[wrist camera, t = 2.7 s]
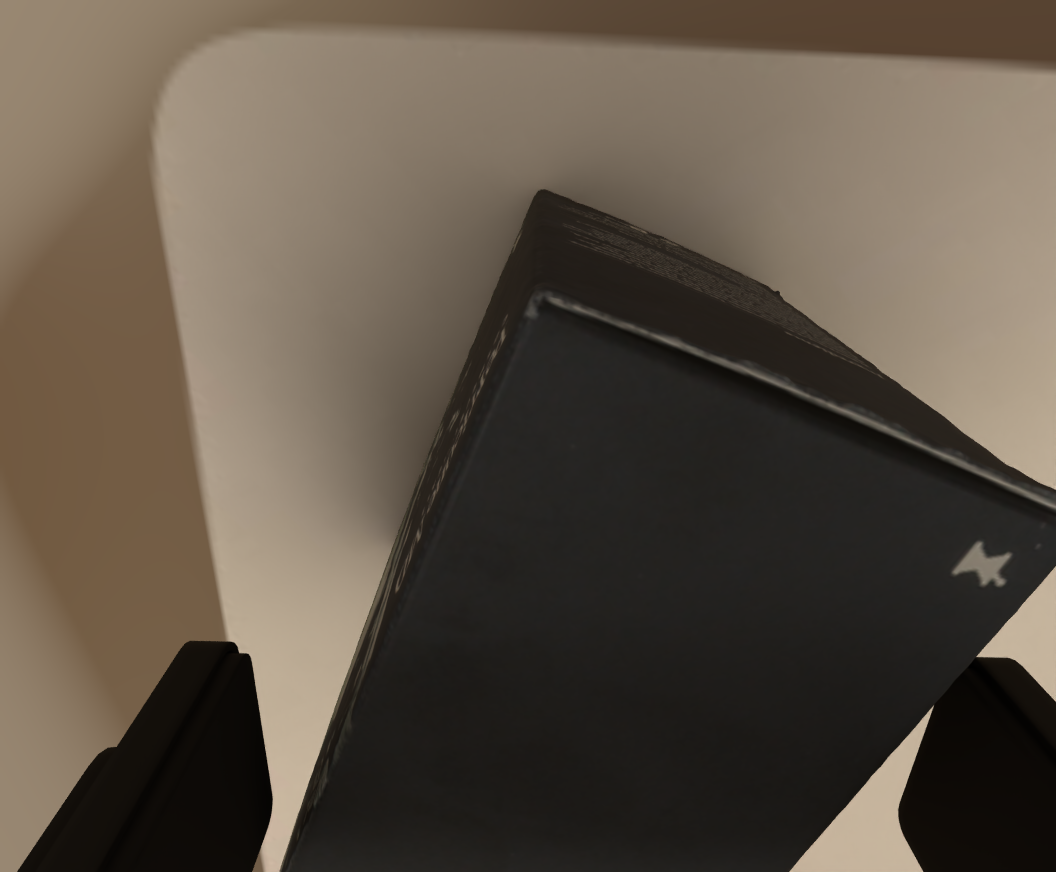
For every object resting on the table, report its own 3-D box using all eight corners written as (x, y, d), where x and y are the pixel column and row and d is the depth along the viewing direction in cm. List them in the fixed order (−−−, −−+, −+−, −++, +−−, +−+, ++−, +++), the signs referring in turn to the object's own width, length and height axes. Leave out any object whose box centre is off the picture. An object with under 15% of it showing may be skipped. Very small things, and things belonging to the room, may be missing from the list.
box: (526, 175, 15) (530, 266, 6) (785, 289, 16) (1146, 523, 7) (379, 553, 19) (241, 971, 10) (595, 624, 20) (659, 1065, 11)
